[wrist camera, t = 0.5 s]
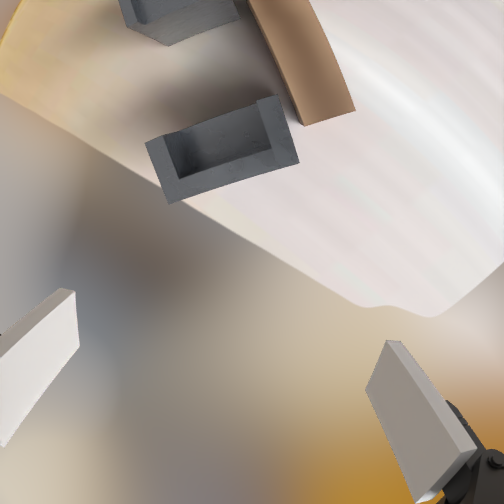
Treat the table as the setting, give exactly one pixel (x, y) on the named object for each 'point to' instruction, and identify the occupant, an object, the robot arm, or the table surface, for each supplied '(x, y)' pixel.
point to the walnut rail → (303, 59)
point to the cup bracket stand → (218, 128)
